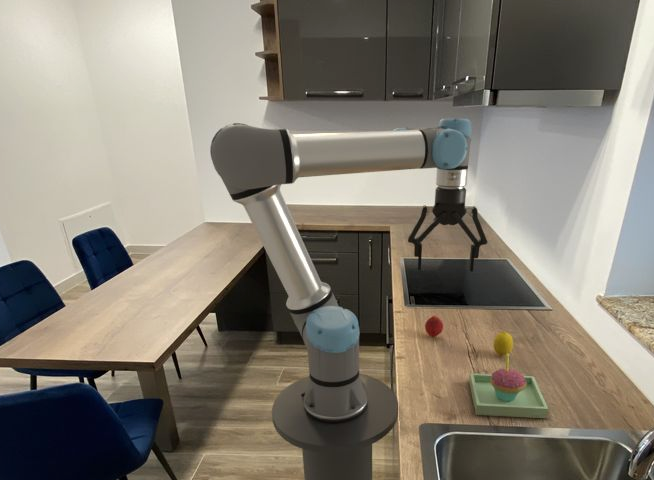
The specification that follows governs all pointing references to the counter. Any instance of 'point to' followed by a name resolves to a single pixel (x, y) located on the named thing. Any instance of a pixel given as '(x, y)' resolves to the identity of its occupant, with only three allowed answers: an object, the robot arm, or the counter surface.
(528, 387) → the tray
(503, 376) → the cupcake
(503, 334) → the lemon
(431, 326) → the red textured round piece
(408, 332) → the counter surface
